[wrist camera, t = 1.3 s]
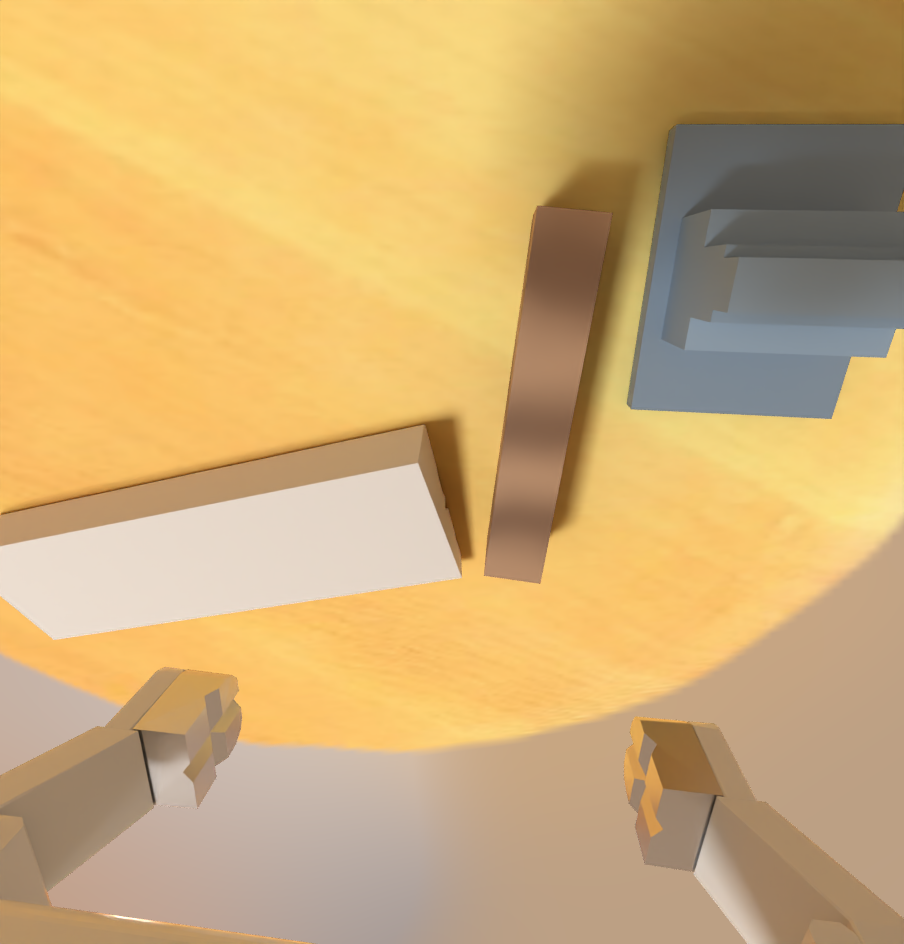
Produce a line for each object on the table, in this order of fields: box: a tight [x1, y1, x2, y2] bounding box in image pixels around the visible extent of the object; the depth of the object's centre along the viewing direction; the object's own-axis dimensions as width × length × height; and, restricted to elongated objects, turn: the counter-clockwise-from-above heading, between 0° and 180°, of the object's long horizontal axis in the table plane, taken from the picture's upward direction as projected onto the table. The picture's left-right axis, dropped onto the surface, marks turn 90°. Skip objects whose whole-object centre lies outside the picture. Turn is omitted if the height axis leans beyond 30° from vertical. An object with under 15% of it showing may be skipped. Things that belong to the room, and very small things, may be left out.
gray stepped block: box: [627, 124, 904, 419], centre depth 23 cm, size 14×11×9 cm
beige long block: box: [0, 424, 462, 640], centre depth 37 cm, size 34×5×10 cm
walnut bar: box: [484, 206, 613, 584], centre depth 29 cm, size 20×3×5 cm, turn 175°
